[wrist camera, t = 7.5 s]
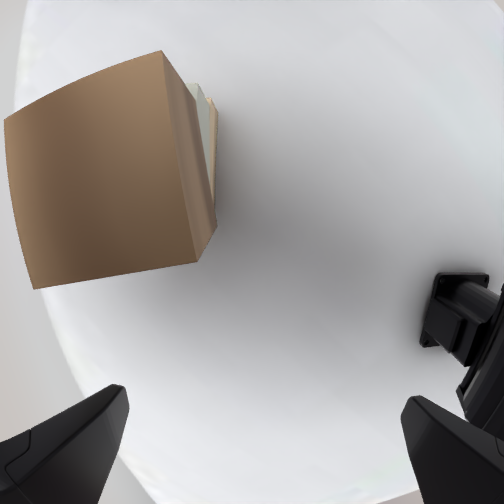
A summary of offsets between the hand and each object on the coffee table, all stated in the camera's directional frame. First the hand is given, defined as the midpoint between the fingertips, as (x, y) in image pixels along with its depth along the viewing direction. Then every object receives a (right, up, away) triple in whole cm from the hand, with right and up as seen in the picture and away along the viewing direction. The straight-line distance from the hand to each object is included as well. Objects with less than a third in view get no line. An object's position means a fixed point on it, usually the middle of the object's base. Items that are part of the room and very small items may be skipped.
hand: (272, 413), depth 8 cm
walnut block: (-5, +8, +3) cm, 10 cm away
